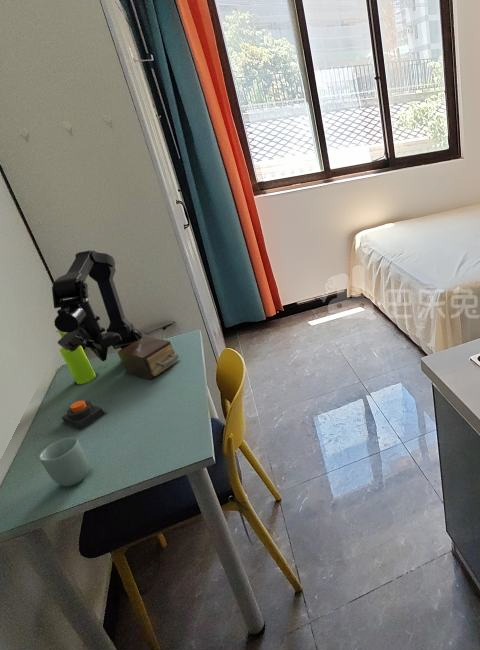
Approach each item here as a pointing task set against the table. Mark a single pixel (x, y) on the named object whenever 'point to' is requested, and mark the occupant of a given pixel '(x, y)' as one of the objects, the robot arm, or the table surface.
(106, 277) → the robot arm
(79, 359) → the soap dispenser
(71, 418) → the control block
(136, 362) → the cabinet
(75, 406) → the button
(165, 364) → the drawer
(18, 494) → the table surface
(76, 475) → the cup
